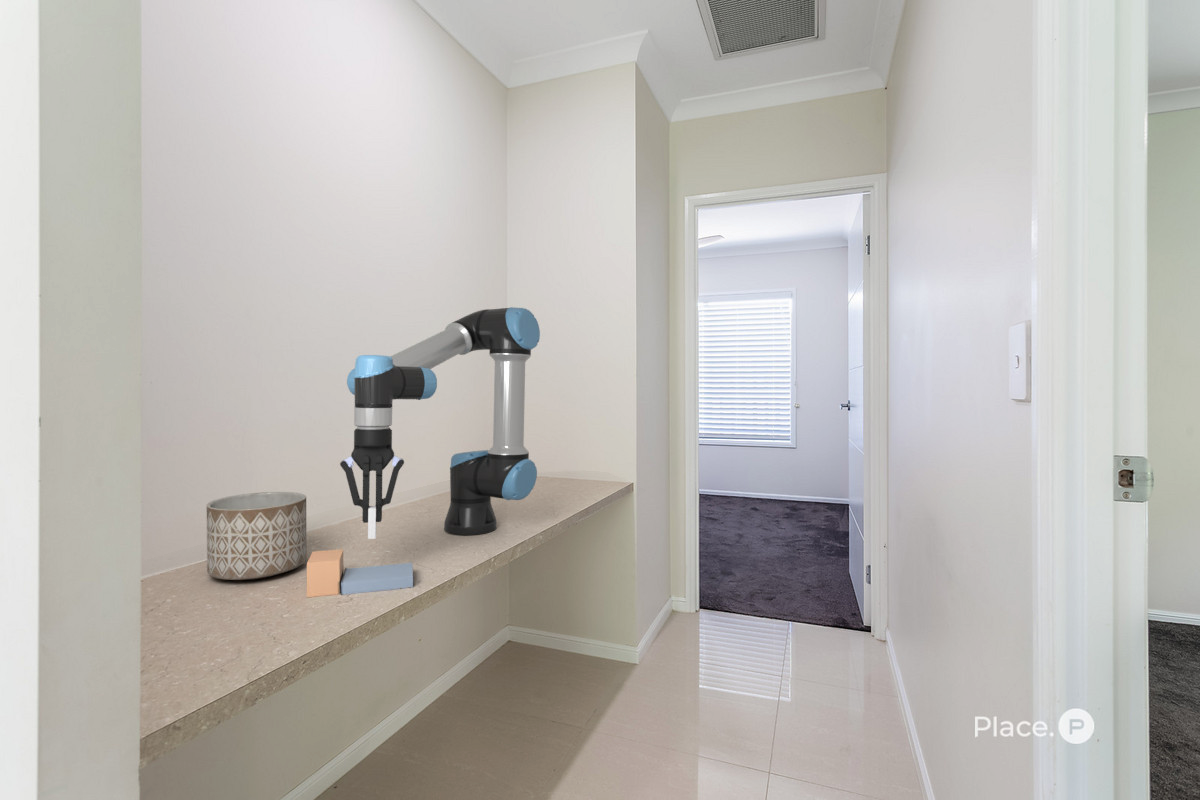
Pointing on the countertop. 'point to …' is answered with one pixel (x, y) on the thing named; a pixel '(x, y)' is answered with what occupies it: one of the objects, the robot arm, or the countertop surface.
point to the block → (324, 573)
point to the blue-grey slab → (377, 578)
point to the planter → (256, 535)
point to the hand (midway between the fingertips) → (372, 537)
